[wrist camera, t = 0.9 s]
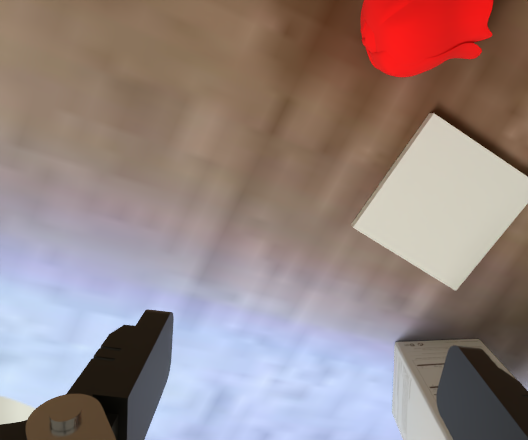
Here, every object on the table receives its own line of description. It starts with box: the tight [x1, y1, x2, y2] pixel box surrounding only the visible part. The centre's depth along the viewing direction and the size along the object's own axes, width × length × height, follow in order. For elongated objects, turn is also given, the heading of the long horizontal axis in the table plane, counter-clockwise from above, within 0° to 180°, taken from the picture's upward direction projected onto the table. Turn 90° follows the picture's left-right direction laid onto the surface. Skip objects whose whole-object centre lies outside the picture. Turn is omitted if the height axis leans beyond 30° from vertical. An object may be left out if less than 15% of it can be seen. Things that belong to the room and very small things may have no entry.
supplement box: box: [392, 339, 515, 440], centre depth 35 cm, size 9×9×15 cm
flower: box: [361, 0, 493, 77], centre depth 30 cm, size 8×8×8 cm
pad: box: [351, 113, 528, 291], centre depth 37 cm, size 12×12×1 cm
